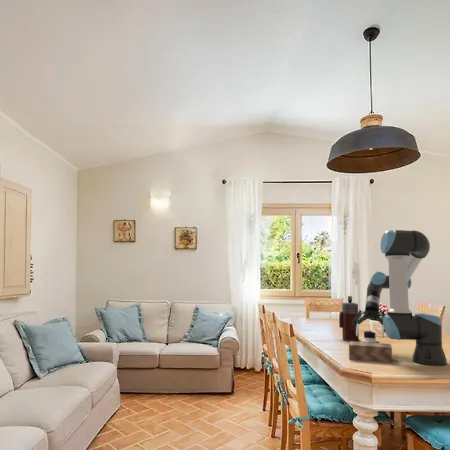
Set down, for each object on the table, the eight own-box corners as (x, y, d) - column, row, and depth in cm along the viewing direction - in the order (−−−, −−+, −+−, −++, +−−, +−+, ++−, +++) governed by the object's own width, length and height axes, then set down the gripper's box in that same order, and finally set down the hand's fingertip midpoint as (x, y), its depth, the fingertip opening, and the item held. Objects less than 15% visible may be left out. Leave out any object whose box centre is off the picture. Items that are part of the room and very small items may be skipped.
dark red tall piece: (338, 338, 284) (338, 295, 287) (356, 338, 283) (355, 295, 286) (340, 340, 276) (340, 295, 279) (358, 340, 274) (358, 296, 277)
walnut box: (390, 357, 220) (390, 343, 221) (392, 362, 208) (391, 347, 209) (350, 354, 226) (349, 341, 227) (349, 359, 215) (348, 344, 216)
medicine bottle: (367, 355, 225) (367, 332, 226) (360, 353, 232) (360, 330, 233) (380, 355, 226) (379, 332, 228) (372, 352, 233) (372, 330, 234)
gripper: (395, 310, 246) (394, 341, 231) (350, 308, 256) (347, 337, 241) (395, 302, 241) (393, 332, 226) (349, 300, 252) (345, 329, 237)
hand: (369, 335), depth 234 cm, fingers open, 13 cm apart
